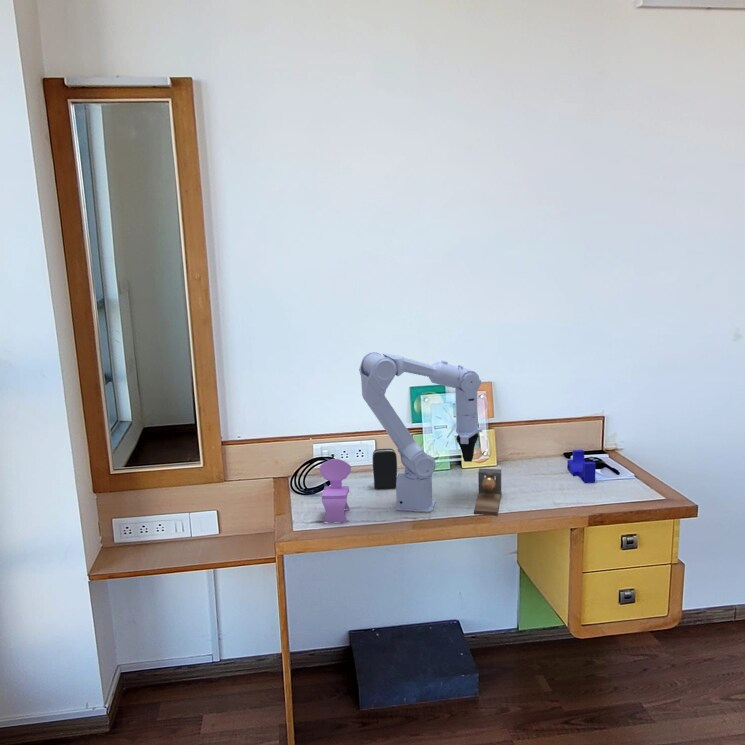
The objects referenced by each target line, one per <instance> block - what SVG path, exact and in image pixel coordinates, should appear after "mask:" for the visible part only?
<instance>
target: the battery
mask: <svg viewBox="0 0 745 745" xmlns="http://www.w3.org/2000/svg"><path fill="white" fill-rule="evenodd" d="M372 474H373V488H374V489H375V490H389V489H390V490H392V489H396V480H397V476H398V457H397V453H396V451H395V449H393V448H378V449H374V450H373V452H372Z"/></svg>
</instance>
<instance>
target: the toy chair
mask: <svg viewBox="0 0 745 745" xmlns="http://www.w3.org/2000/svg"><path fill="white" fill-rule="evenodd" d="M318 468H319V469H318V470H319V472H320V475H321V476H322V477H323V479H325V480H327V481H329V482H330V485H329V486H324V488H323V491H322V494H321V502H322V505H323V507H324V511H325V517H324V520H323V522H348V523H349V521H348V520H347V518H346V515H345V510H344V509H350V510H351V508H350V507H349V504H348V495H349V492H350V488H349V485H344V486H343V484H342V482H343V481H345V479H347V477H348V476H349V475H350V474H351V471H352V467H351V465H350V463H348V462H347V461H345V460H343V459H339V458H332V459H327V461H324V462H322V463H321V465H320V466H319V467H318Z"/></svg>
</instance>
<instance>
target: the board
mask: <svg viewBox="0 0 745 745" xmlns="http://www.w3.org/2000/svg"><path fill="white" fill-rule="evenodd" d="M501 497H502V493H501V494H491V493H479V492H478V494H477V498H476V502H475V505H474V510H473V514H474V515H482V514H483V516H484V515H485V516H498V515H499V510H500V509H499V508H500V504H501V499H502V498H501Z"/></svg>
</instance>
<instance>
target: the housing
mask: <svg viewBox="0 0 745 745" xmlns="http://www.w3.org/2000/svg"><path fill="white" fill-rule="evenodd" d="M477 474H478V480H477V481H478V483H477V484H478V493H491V494H501V495H502V469H499V468H478V472H477ZM486 476H495V481H496V486H495V489H494V490H493V491H491V492H487V491H485V490H484V489H483V488H482V482H483V479H484V478H485V477H486Z"/></svg>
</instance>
